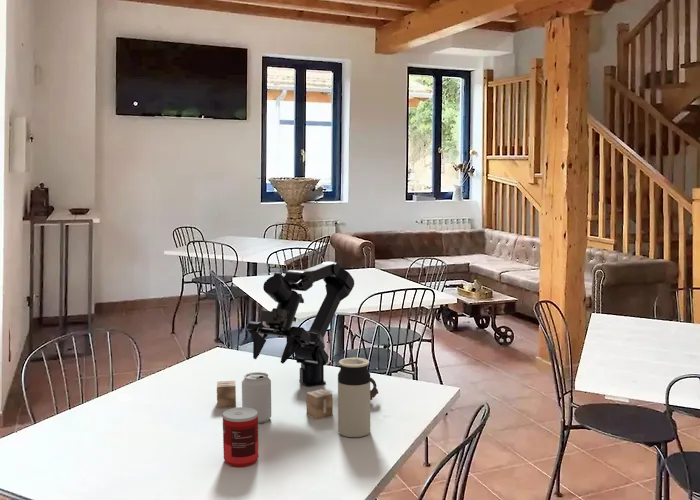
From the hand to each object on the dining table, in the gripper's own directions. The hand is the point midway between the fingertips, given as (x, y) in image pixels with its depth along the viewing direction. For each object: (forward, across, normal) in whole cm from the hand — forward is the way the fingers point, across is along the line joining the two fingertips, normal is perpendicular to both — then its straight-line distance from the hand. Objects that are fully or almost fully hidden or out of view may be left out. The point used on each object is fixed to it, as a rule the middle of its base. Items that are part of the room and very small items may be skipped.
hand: (268, 360), depth 189 cm
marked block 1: (+13, -10, +3) cm, 17 cm away
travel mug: (+14, +31, +2) cm, 34 cm away
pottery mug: (+2, +20, +20) cm, 28 cm away
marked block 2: (+10, +17, +7) cm, 21 cm away
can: (+17, +4, -1) cm, 17 cm away
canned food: (+30, +16, -19) cm, 39 cm away
